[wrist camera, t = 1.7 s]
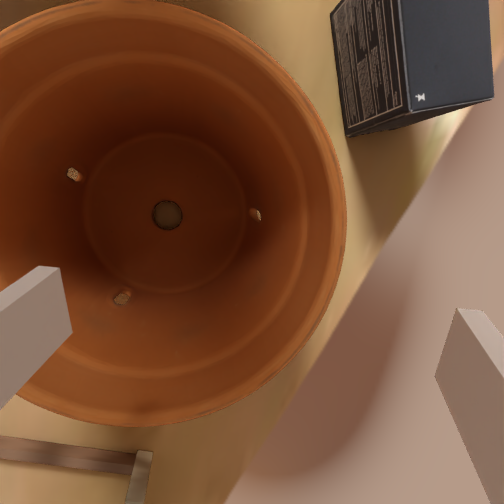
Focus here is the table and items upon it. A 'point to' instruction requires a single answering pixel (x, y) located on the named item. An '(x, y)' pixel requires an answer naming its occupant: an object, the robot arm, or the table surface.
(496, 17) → the table surface
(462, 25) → the small box
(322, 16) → the table surface
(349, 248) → the table surface
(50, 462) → the channel
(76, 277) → the flower pot
